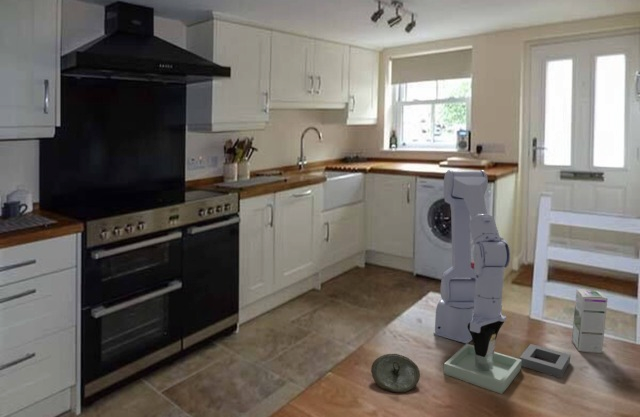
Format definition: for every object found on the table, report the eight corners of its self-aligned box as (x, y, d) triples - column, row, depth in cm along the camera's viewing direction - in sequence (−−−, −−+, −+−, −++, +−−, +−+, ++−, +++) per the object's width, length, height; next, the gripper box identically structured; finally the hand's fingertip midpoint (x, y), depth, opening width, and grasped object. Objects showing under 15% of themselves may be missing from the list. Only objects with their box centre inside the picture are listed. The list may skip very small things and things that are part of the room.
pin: (472, 366, 109) (474, 333, 107) (477, 360, 112) (480, 327, 110) (490, 372, 106) (492, 338, 105) (495, 365, 109) (497, 332, 108)
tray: (443, 373, 108) (444, 363, 108) (466, 353, 118) (466, 343, 118) (502, 394, 100) (503, 383, 100) (520, 369, 110) (521, 359, 110)
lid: (415, 370, 110) (416, 349, 109) (423, 394, 100) (424, 372, 99) (369, 369, 110) (369, 349, 109) (373, 393, 100) (373, 371, 99)
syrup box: (603, 353, 119) (609, 297, 116) (577, 351, 120) (583, 295, 117) (594, 343, 124) (601, 290, 122) (570, 341, 125) (575, 288, 123)
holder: (518, 365, 112) (519, 357, 112) (529, 351, 119) (530, 343, 119) (560, 377, 107) (561, 369, 107) (569, 362, 114) (570, 354, 114)
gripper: (495, 308, 98) (490, 369, 100) (516, 289, 109) (512, 345, 112) (462, 300, 102) (458, 359, 105) (486, 283, 114) (482, 337, 116)
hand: (484, 351), depth 108 cm, fingers closed on pin, 4 cm apart
